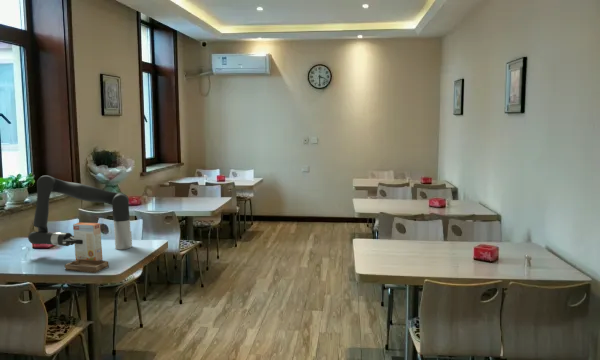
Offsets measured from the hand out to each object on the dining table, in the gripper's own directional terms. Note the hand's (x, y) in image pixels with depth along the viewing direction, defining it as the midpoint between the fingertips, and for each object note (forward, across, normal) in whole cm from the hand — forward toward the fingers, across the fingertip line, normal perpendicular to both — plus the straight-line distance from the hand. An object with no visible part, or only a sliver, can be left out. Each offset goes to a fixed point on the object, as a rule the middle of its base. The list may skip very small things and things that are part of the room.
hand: (86, 240), depth 281 cm
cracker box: (+1, 0, +11) cm, 11 cm away
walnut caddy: (+11, -14, +11) cm, 21 cm away
